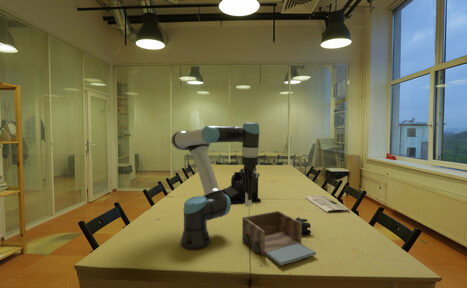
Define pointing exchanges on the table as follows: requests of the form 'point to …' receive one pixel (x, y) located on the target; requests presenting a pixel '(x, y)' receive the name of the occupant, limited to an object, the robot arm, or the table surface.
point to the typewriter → (239, 190)
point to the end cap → (304, 226)
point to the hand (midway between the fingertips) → (248, 205)
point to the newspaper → (326, 203)
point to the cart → (270, 231)
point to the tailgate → (290, 253)
